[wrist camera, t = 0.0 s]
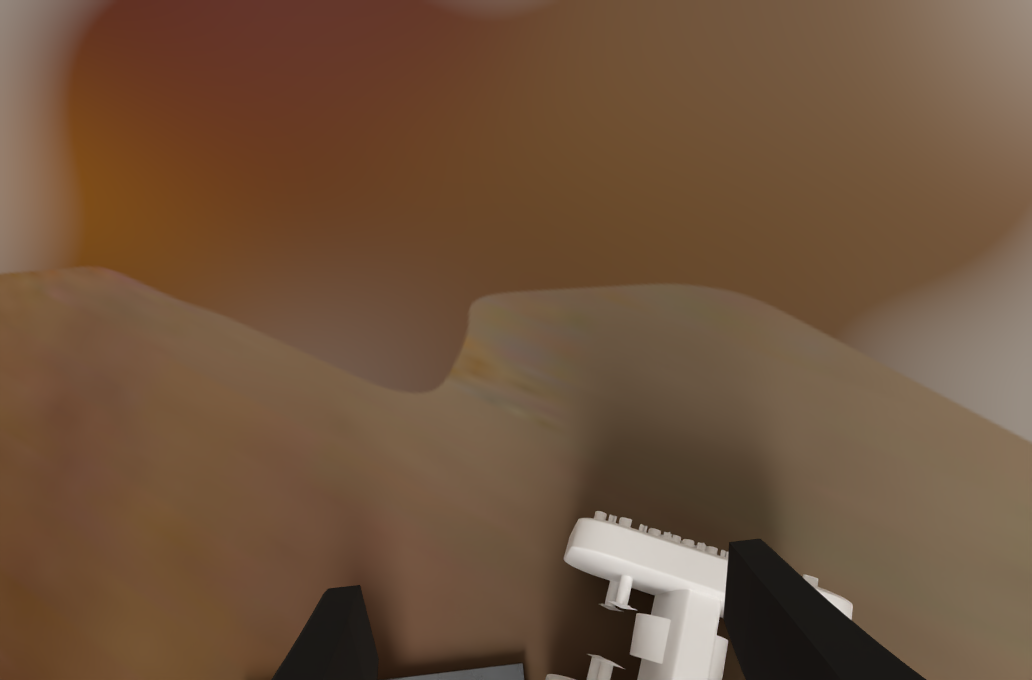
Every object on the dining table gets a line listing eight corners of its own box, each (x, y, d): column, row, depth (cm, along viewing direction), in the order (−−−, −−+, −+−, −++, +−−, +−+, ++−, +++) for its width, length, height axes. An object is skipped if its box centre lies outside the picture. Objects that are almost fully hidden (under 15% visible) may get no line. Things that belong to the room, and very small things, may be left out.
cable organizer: (525, 694, 40) (525, 720, 29) (570, 530, 44) (584, 501, 33) (762, 780, 38) (854, 841, 27) (785, 599, 42) (873, 592, 31)
